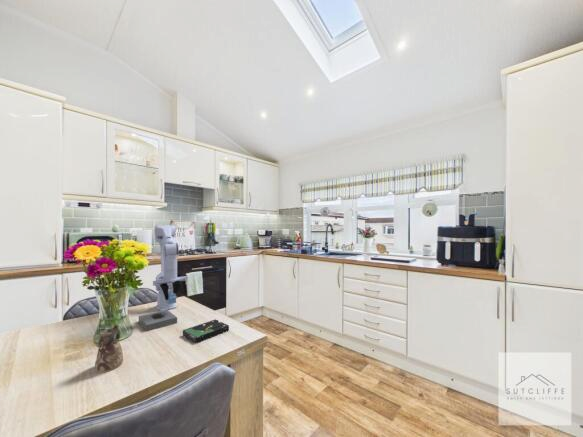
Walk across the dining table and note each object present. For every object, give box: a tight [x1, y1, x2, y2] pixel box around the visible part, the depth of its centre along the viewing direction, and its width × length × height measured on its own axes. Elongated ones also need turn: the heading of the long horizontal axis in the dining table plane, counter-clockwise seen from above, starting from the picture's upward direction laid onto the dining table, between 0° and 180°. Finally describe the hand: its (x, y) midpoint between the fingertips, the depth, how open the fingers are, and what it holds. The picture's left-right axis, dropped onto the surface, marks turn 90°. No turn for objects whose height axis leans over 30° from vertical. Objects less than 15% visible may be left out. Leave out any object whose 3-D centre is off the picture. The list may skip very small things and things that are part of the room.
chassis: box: [138, 309, 178, 332], centre depth 113 cm, size 14×12×2 cm
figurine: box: [94, 324, 124, 374], centre depth 79 cm, size 7×7×12 cm
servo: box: [166, 292, 178, 304], centre depth 118 cm, size 8×3×5 cm, turn 44°
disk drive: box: [182, 318, 230, 344], centre depth 101 cm, size 10×3×15 cm
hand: (170, 298), depth 118 cm, fingers closed on servo, 3 cm apart
